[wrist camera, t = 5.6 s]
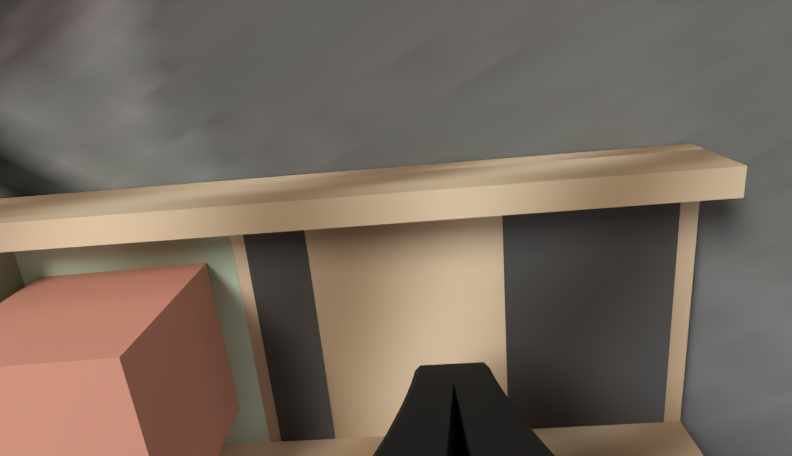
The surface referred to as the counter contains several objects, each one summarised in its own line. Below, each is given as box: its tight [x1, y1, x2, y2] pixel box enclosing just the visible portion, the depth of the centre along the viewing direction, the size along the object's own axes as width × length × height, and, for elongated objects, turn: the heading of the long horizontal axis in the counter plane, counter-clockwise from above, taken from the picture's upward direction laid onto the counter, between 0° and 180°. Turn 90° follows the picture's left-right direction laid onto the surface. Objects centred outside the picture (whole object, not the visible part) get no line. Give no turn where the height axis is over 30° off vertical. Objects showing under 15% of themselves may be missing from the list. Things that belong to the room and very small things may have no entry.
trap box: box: [0, 144, 747, 456], centre depth 13 cm, size 16×7×2 cm, turn 95°
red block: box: [0, 263, 240, 456], centre depth 12 cm, size 4×4×4 cm
